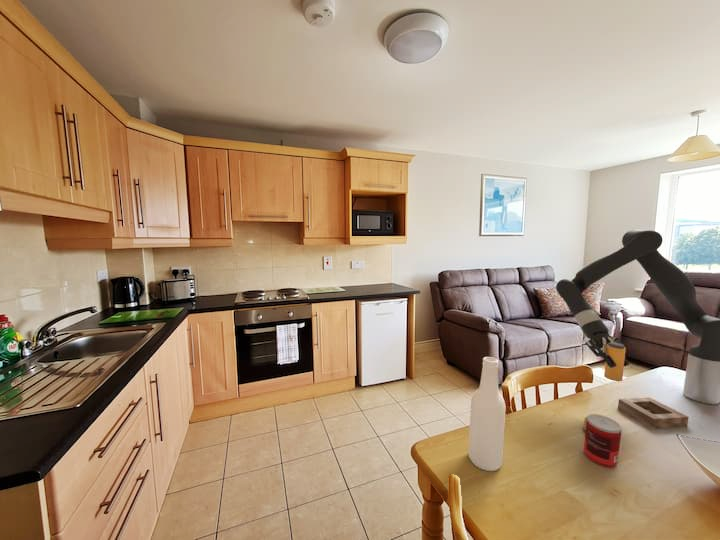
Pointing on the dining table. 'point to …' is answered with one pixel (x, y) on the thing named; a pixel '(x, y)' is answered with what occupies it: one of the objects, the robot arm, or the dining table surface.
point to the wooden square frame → (662, 416)
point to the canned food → (602, 440)
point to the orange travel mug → (618, 357)
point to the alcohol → (487, 420)
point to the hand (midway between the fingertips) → (620, 366)
